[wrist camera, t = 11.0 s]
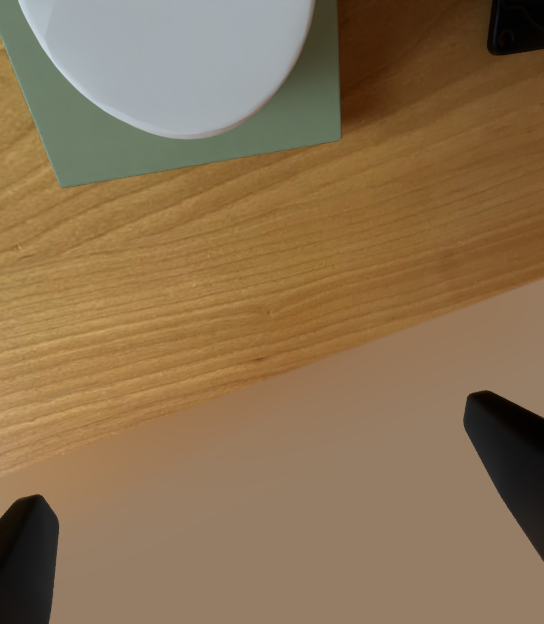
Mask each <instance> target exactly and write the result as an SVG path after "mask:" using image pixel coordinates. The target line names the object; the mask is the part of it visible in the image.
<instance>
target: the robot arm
mask: <svg viewBox="0 0 544 624" xmlns="http://www.w3.org/2000/svg"><path fill="white" fill-rule="evenodd" d="M503 34H504V35H505V42H504V44H503V45H502V47H501V46H500V38H501V36H502V35H503ZM487 48H488V50H489V52H490V53H491V54H492V55H508V54H515V53H521V52H527V51H534V50H540V49H544V0H493V1H492V9H491V17H490V25H489V33H488V41H487ZM463 421H464V427H465V430H466V432H467V434H468V436H469V438H470V440H471V442H472V443H473V445H474V447H475V449H476V451H477V453H478V455H479V457H480V459H481V460H482V463H483V464H484V466H485V468H486V470H487V472H488V474H489V476H490V478H491V480H492V482H493V483H494V485H495V487H496V489H497V491H498V492H499V494H500V496H501V498H502V499H503V501H504V502H505V504H506V505H507V507H508V509H509V510H510V511H511V513H512V514H513V516H514V517H515V519H516V521H517V522H518V524H519V525H520V527H521V528H522V530H523V531H524V533H525V534H526V536H527V537H528V538H529V540H530V542H531V543H532V545H533V546H534V548H535V549H536V551H537V552H538V554H539V555H540V557H541V558H542V560H543V561H544V418H543V417H541V416H539V415H537V414H535V413H533V412H531V411H529V410H526V409H525V408H523V407H521V406H519V405H517V404H515V403H513V402H511V401H509V400H507V399H505V398H503V397H501V396H499V395H497V394H495V393H493V392H491V391H487V390H485V391H479V392H475V393H471V394H469V396H468V397H467V401H466V407H465V413H464V419H463ZM58 534H59V522H58V518H57V516H56V515H55V513H54V512H53V510H52V509H51V508H50V506H49V505H48V503H47V502H46V500H45V499H44V497H43V496H41V495H39V494H38V495H37V494H36V495H32V496H28V497H23V498H20V499H18V500H16V501H15V502H14V503H13V504H12V505H11V506H10V508H9V509H8V510H7V511H6V512H5V513H4V515H3V516H2V517H1V518H0V624H49V619H50V613H51V606H52V597H53V588H54V577H55V566H56V556H57V545H58Z"/></svg>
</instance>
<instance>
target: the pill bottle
mask: <svg viewBox="0 0 544 624" xmlns="http://www.w3.org/2000/svg"><path fill="white" fill-rule="evenodd" d="M18 2H19V4H20V7H21V9H22V12H23V14H24V16H25V18H26V20H27V22H28V24H29V25H30V27H31V29H32V31H33V33H34V34H35V36H36V38H37V40H38V41H39V43H40V45H41V47H42V48H43V50H44V51H45V52H46V54H47V55H48V56H49V58H50V59H51V60H52V62H53V63H54V65H55V66H56V68H57V69H58V70H59V71H60V72H61V73H62V74H63V75H64V77H65V78H66V79H67V80H68V81H69V82H70V83H71V84H72V85H73V86H74V87H75V88H76V89H77V90H78V91H79V92H80V93H81V94H83V95H84V96H85V97H86V98H88V99H89V100H90V101H91V102H93V103H94V104H95V105H97V106H98V107H99V108H101V109H102V110H104V111H105V112H107V113H108V114H110V115H112V116H114V117H116V118H117V119H119V120H121V121H123V122H126V123H128V124H130V125H132V126H134V127H136V128H138V129H141V130H143V131H146V132H148V133H151V134H155V135H158V136H162V137H167V138H173V139H203V138H208V137H213V136H216V135H220V134H223V133H225V132H228V131H230V130H232V129H234V128H236V127H238V126H240V125H242V124H243V123H245V122H247V121H248V120H249V119H251V118H252V117H253V116H255V115H256V114H257V113H258V112H259V111H260V110H261V109H262V108H263V107H264V106H265V105H266V104H267V103H268V102H269V101H270V100H271V99H272V98H273V96H274V95H275V93H276V92H277V91H278V89H279V88H280V87H281V86H282V85H283V83H284V82H285V80H286V79H287V77H288V76H289V74H290V72H291V71H292V69H293V67H294V66H295V64H296V62H297V60H298V58H299V56H300V53H301V51H302V49H303V46H304V43H305V41H306V38H307V35H308V32H309V29H310V26H311V22H312V17H313V11H314V6H315V0H18Z"/></svg>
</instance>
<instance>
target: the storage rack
mask: <svg viewBox="0 0 544 624" xmlns="http://www.w3.org/2000/svg"><path fill="white" fill-rule="evenodd" d="M0 37H1V39H2V42H3V45H4V47H5V50H6V52H7V55H8V57H9V60H10V62H11V65H12V67H13V70H14V72H15V75H16V77H17V80H18V82H19V85H20V87H21V90H22V93H23V95H24V98H25V100H26V103H27V105H28V108H29V110H30V113H31V115H32V118H33V120H34V123H35V125H36V128H37V130H38V133H39V135H40V138H41V141H42V143H43V146H44V148H45V151H46V153H47V156H48V158H49V161H50V163H51V166H52V168H53V171H54V173H55V176H56V178H57V181H58V183H59V186H60V187H61V188H68V187H74V186H80V185H85V184H91V183H97V182H103V181H109V180H115V179H120V178H126V177H132V176H138V175H144V174H149V173H155V172H161V171H167V170H173V169H179V168H184V167H190V166H196V165H202V164H208V163H213V162H219V161H225V160H231V159H237V158H243V157H248V156H254V155H260V154H266V153H272V152H278V151H283V150H289V149H295V148H301V147H307V146H312V145H318V144H324V143H330V142H336V141H340V140H341V139H342V128H341V100H340V71H339V42H338V13H337V0H315V6H314V11H313V17H312V22H311V26H310V29H309V32H308V35H307V38H306V41H305V43H304V46H303V49H302V51H301V53H300V56H299V58H298V60H297V62H296V64H295V66H294V67H293V69H292V71H291V72H290V74H289V76H288V77H287V79H286V80H285V82H284V83H283V85H282V86H281V87H280V88H279V89H278V91H277V92H276V93H275V95H274V96H273V98H272V99H271V100H270V101H269V102H268V103H267V104H266V105H265V106H264V107H263V108H262V109H261V110H260V111H259V112H258V113H257V114H256V115H255V116H253V117H252V118H251V119H249V120H248V121H247V122H245V123H243V124H242V125H240V126H238V127H236V128H234V129H232V130H230V131H228V132H225V133H223V134H220V135H216V136H213V137H208V138H203V139H173V138H167V137H162V136H158V135H155V134H151V133H148V132H146V131H143V130H141V129H138V128H136V127H134V126H132V125H130V124H128V123H126V122H123V121H121V120H119V119H117V118H116V117H114V116H112V115H110V114H108V113H107V112H105V111H104V110H102V109H101V108H99V107H98V106H97V105H95V104H94V103H93V102H91V101H90V100H89V99H88V98H86V97H85V96H84V95H83V94H81V93H80V92H79V91H78V90H77V89H76V88H75V87H74V86H73V85H72V84H71V83H70V82H69V81H68V80H67V79H66V78H65V77H64V75H63V74H62V73H61V72H60V71H59V70H58V69H57V68H56V66H55V65H54V63H53V62H52V60H51V59H50V58H49V56H48V55H47V54H46V52H45V51H44V50H43V48H42V47H41V45H40V43H39V41H38V40H37V38H36V36H35V34H34V33H33V31H32V29H31V27H30V25H29V24H28V22H27V20H26V18H25V16H24V14H23V12H22V9H21V7H20V4H19V2H18V0H0Z"/></svg>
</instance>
